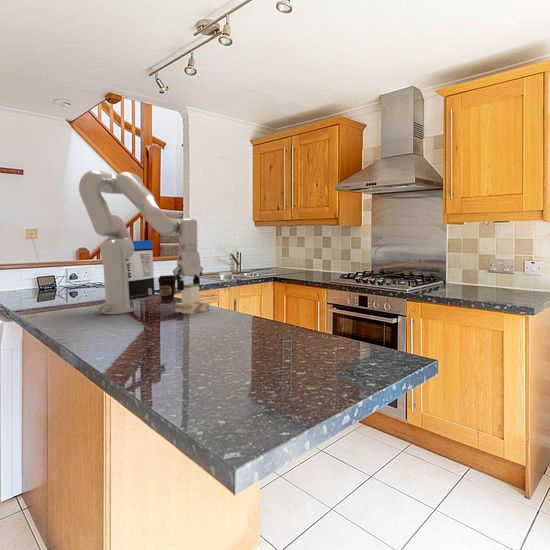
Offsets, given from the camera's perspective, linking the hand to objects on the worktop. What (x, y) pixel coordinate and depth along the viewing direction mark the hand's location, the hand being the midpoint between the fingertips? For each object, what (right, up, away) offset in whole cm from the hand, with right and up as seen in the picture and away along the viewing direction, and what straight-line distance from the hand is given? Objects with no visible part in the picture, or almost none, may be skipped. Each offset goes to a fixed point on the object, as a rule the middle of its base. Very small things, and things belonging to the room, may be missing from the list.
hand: (188, 288), depth 175 cm
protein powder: (-37, -6, +46) cm, 59 cm away
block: (+1, -10, +1) cm, 10 cm away
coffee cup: (-16, -8, +27) cm, 32 cm away
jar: (+1, -6, 0) cm, 6 cm away
